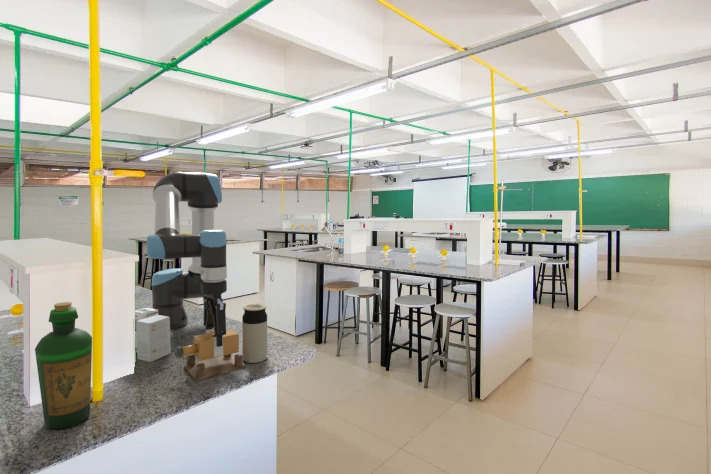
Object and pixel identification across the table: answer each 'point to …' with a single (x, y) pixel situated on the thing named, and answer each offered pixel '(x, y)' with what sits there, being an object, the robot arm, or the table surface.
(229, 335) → the amber bottle
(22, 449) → the table surface
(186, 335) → the table surface
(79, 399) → the bottle
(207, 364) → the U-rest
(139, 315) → the syrup box
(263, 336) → the travel mug
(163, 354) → the small box
